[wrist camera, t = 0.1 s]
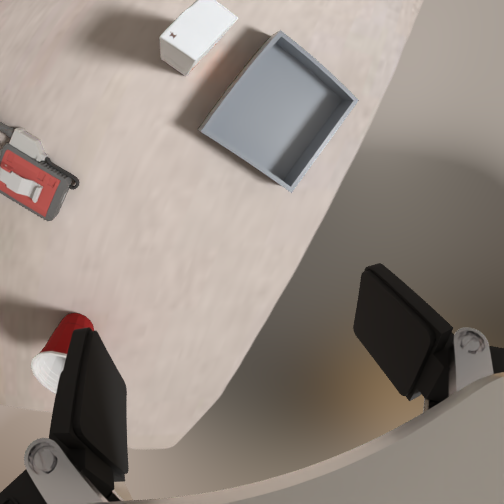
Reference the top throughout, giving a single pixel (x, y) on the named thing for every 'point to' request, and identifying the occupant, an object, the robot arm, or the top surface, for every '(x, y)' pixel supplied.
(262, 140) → the tray
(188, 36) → the skincare box
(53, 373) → the plastic cup
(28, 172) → the walkie-talkie
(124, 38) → the top surface
